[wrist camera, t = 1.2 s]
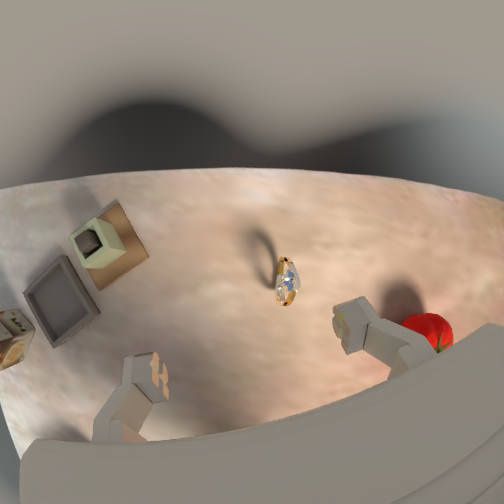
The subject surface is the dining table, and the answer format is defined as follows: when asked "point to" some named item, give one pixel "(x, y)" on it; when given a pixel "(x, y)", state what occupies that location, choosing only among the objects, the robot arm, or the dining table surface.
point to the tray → (60, 302)
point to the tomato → (431, 330)
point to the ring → (286, 282)
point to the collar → (107, 237)
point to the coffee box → (14, 337)
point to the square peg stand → (128, 237)
